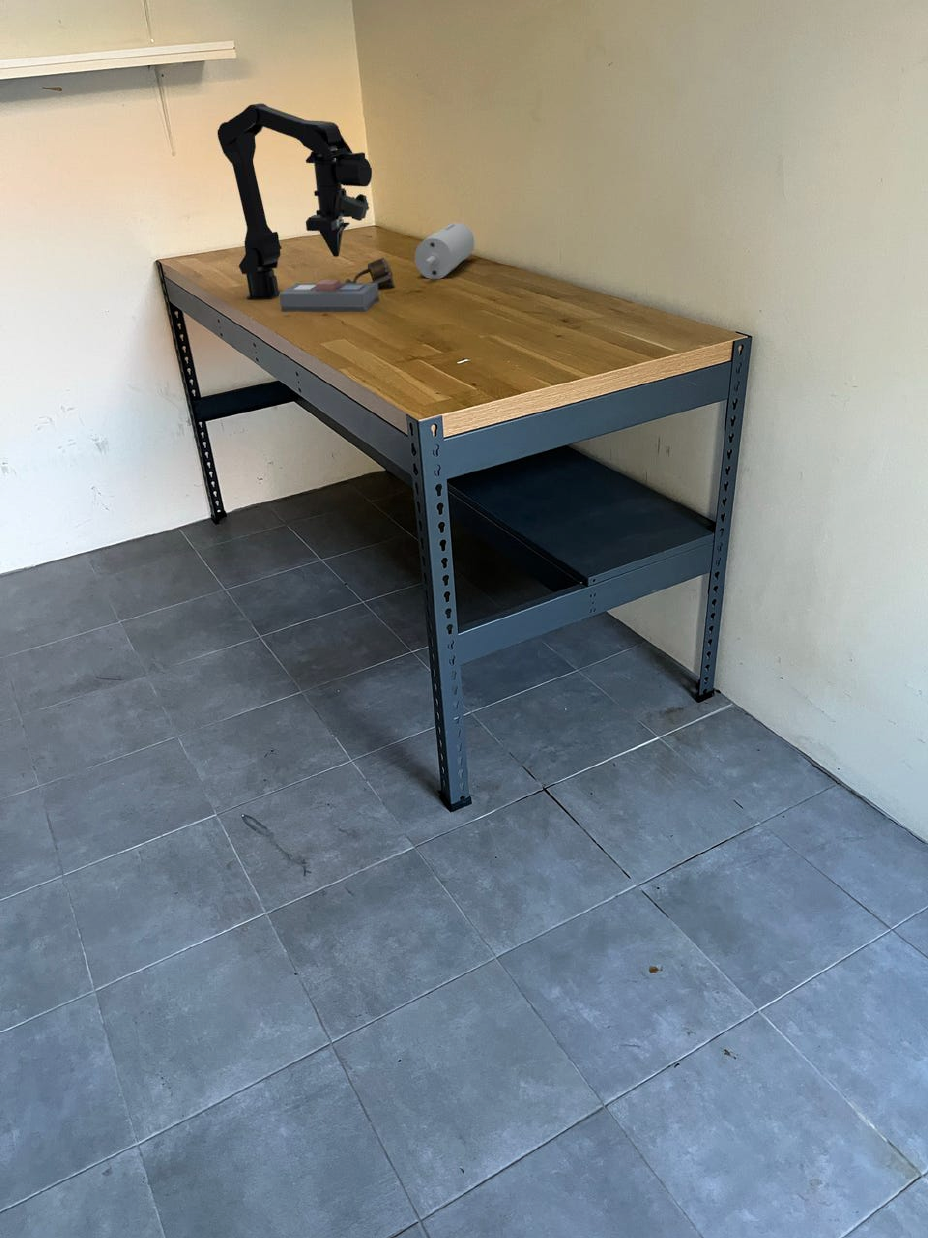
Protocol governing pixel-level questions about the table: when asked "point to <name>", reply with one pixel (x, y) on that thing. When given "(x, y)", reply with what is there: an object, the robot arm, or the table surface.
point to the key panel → (329, 298)
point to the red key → (328, 285)
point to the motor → (444, 250)
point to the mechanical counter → (377, 273)
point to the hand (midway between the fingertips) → (336, 256)
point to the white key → (305, 288)
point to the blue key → (352, 288)
